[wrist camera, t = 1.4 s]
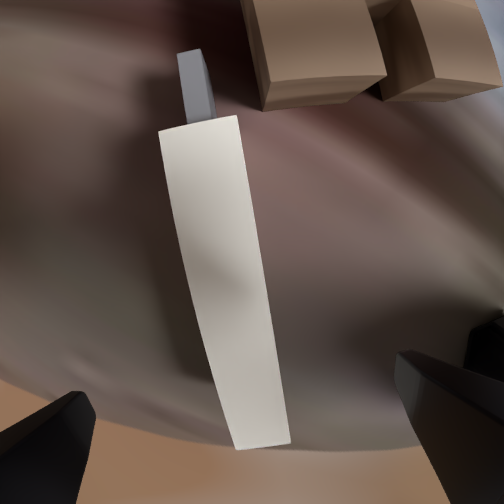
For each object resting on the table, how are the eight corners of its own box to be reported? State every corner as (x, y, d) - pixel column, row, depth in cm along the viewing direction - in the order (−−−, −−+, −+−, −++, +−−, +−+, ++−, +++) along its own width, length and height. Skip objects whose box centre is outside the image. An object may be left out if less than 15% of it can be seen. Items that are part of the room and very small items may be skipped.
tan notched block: (443, 102, 16) (503, 86, 10) (262, 111, 16) (270, 82, 10) (404, -22, 14) (442, -62, 8) (234, -26, 14) (230, -84, 8)
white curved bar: (280, 380, 21) (290, 443, 15) (237, 387, 21) (236, 450, 15) (229, 77, 16) (222, 34, 10) (177, 87, 16) (147, 51, 10)
